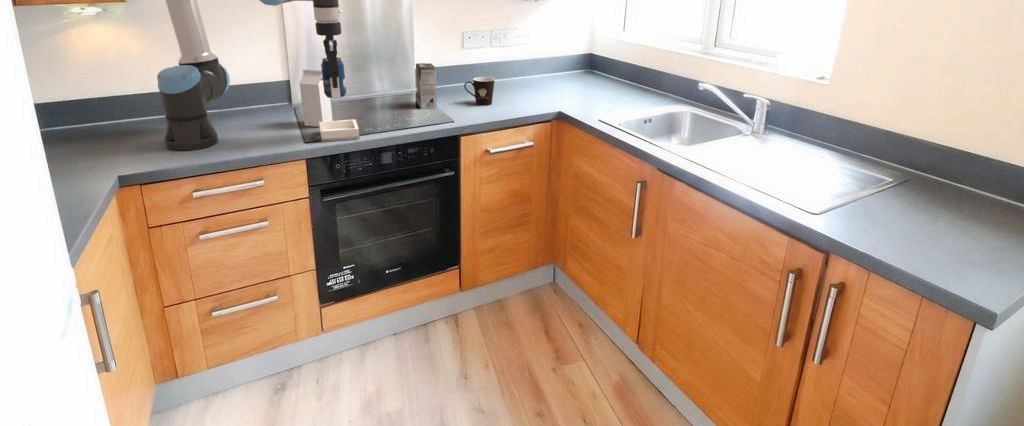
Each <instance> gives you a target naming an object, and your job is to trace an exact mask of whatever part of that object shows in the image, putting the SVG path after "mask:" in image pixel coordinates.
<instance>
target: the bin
mask: <svg viewBox="0 0 1024 426" xmlns="http://www.w3.org/2000/svg"><path fill="white" fill-rule="evenodd" d="M319 126H320V127H319V133H320V138H321V142H322V143H328V142H341V141H351V140H354V141H355V140H360V130H359V126H358V123H357V120H356V119H344V120H343V119H342V120H333V121H324V122H319Z"/></svg>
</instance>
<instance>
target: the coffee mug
mask: <svg viewBox="0 0 1024 426" xmlns="http://www.w3.org/2000/svg"><path fill="white" fill-rule="evenodd" d="M472 81H473V82H472ZM472 81H466V82H465V83H464V85H463V86H464V90H465V91H466V92H467V93H468V94H470V95H471V96H473V97H474V98H475V104H476V106H481V107H483V106H484V107H486V106H492V104H493V96H494V90H495V89H494V88H495V78H494V77H490V76H478V77H474V78H472ZM467 84H471V85H472V88H473V89H474V93H472V92H471V91H469V90H468V89H467V87H466V85H467Z"/></svg>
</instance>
